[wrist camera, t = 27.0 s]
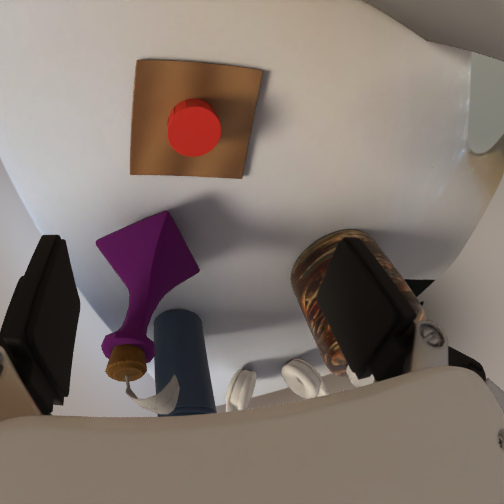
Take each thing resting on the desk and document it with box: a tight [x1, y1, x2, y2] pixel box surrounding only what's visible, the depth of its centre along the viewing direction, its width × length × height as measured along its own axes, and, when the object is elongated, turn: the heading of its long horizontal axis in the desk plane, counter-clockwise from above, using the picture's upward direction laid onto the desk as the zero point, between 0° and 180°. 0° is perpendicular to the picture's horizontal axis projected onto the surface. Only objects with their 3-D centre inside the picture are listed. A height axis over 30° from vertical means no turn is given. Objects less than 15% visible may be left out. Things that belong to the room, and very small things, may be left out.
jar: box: [291, 230, 426, 387], centre depth 33 cm, size 12×12×15 cm
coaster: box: [130, 60, 263, 179], centre depth 23 cm, size 10×10×1 cm
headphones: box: [226, 359, 329, 412], centre depth 44 cm, size 7×18×20 cm, turn 89°
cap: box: [167, 99, 221, 157], centre depth 22 cm, size 4×4×3 cm
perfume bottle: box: [96, 211, 200, 414], centre depth 23 cm, size 8×8×18 cm
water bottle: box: [154, 309, 217, 417], centre depth 32 cm, size 6×6×18 cm
